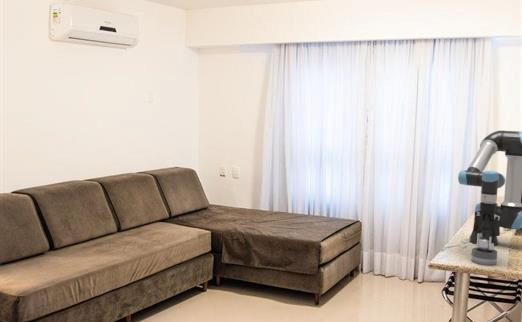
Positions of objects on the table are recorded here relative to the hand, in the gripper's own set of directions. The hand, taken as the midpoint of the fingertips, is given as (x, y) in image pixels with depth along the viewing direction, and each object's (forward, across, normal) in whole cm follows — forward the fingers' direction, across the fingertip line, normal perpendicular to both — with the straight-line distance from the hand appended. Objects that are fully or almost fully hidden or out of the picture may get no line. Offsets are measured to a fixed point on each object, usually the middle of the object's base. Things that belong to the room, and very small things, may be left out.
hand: (484, 247), depth 292 cm
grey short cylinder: (+7, 0, 0) cm, 7 cm away
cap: (+2, 0, 0) cm, 2 cm away
